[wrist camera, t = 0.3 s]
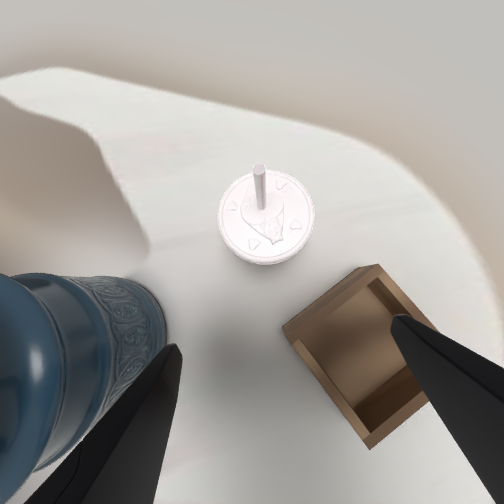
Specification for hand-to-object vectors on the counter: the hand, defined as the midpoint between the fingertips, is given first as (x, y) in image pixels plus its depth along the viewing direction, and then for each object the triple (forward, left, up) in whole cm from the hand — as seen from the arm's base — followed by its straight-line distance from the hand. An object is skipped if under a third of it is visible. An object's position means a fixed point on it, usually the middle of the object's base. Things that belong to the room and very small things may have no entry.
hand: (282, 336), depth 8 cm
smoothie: (+6, -3, -13) cm, 15 cm away
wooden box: (-7, -4, -13) cm, 16 cm away
